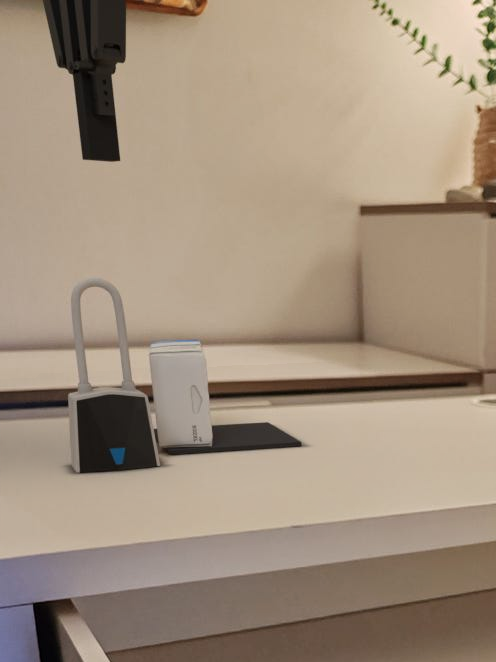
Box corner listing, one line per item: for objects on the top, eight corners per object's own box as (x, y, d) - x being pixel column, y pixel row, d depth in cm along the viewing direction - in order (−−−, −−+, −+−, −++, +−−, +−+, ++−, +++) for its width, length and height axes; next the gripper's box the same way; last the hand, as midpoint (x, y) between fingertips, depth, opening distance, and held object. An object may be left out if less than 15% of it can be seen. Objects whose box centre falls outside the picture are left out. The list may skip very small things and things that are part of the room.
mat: (149, 432, 103) (149, 428, 103) (268, 425, 108) (268, 422, 107) (170, 454, 92) (169, 450, 92) (301, 446, 96) (301, 441, 96)
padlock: (151, 458, 90) (132, 276, 85) (161, 466, 87) (142, 277, 81) (70, 464, 87) (45, 277, 82) (77, 473, 84) (51, 278, 78)
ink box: (149, 340, 100) (146, 350, 89) (202, 339, 101) (205, 349, 90) (159, 429, 103) (157, 449, 92) (210, 426, 104) (214, 446, 93)
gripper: (151, -180, 79) (180, 159, 87) (72, -139, 87) (105, 166, 96) (56, -210, 74) (96, 152, 82) (-18, -164, 82) (25, 161, 91)
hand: (101, 160), depth 89 cm, fingers closed
